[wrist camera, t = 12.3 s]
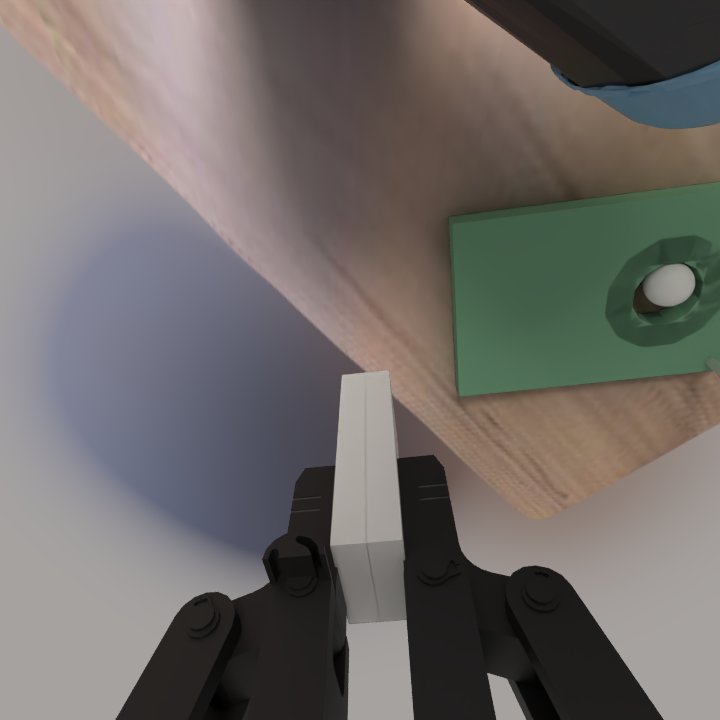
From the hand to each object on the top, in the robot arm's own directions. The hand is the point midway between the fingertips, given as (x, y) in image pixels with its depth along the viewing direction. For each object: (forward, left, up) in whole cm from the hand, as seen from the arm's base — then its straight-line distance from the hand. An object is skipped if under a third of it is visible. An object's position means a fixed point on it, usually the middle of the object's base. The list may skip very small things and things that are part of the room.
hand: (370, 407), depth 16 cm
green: (+9, +17, -24) cm, 31 cm away
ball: (+8, +22, -23) cm, 33 cm away
